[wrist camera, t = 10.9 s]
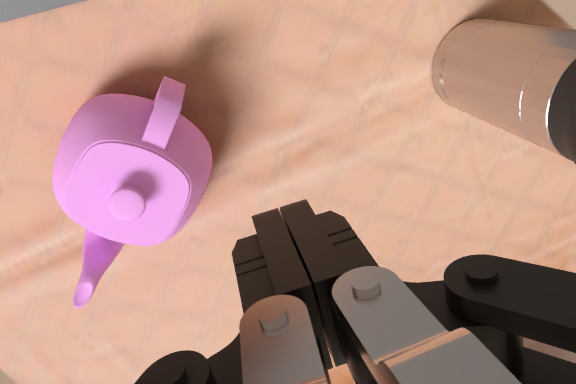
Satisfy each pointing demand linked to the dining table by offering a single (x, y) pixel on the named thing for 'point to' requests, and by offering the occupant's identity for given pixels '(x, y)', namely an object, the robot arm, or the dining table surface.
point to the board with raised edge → (29, 7)
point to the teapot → (129, 175)
